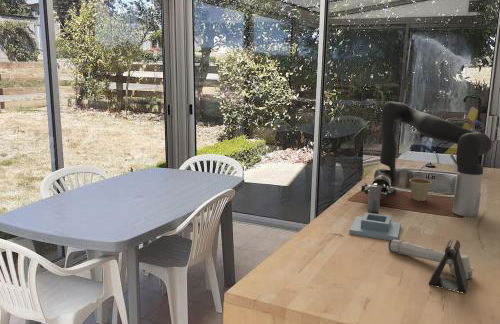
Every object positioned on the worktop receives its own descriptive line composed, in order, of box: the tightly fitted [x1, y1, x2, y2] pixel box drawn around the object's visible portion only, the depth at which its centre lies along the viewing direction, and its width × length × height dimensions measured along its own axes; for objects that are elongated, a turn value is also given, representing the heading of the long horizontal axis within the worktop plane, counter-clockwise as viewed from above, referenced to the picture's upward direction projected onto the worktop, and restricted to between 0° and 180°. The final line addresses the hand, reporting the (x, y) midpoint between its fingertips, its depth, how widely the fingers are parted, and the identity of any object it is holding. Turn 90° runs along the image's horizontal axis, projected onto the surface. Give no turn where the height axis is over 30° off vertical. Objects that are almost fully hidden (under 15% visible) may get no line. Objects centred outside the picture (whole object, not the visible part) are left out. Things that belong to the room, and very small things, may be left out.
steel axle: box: [367, 184, 382, 214], centre depth 169 cm, size 4×4×12 cm
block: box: [348, 212, 402, 241], centre depth 153 cm, size 16×16×4 cm
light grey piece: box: [387, 239, 475, 280], centre depth 127 cm, size 5×7×25 cm
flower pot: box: [409, 178, 433, 202], centre depth 192 cm, size 9×9×9 cm
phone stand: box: [428, 238, 469, 294], centre depth 113 cm, size 9×6×12 cm, turn 58°
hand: (377, 193), depth 177 cm, fingers open, 8 cm apart
